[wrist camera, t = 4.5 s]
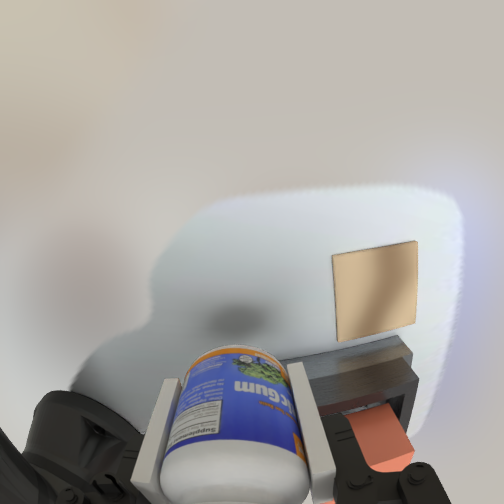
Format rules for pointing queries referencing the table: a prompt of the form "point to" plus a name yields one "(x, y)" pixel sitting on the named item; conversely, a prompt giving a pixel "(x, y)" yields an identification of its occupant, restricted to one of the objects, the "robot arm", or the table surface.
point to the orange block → (381, 439)
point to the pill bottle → (235, 433)
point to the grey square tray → (363, 378)
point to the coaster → (375, 290)
